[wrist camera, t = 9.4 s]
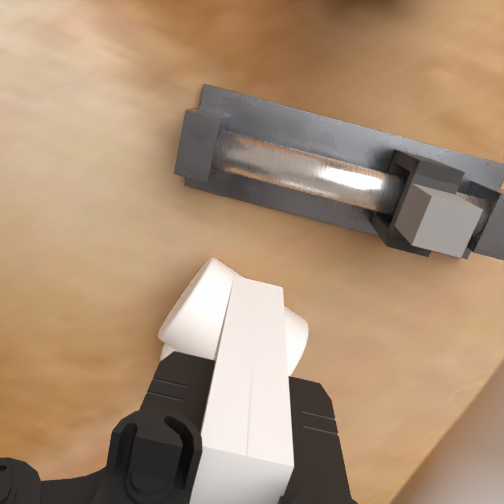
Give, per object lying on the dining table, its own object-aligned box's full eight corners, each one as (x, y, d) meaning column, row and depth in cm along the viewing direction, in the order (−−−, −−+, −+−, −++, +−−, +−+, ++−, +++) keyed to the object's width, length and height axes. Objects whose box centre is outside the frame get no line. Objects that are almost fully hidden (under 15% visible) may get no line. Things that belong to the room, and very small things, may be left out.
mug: (218, 243, 37) (201, 280, 29) (307, 305, 38) (313, 355, 31) (149, 336, 41) (120, 389, 33) (233, 389, 42) (222, 451, 35)
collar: (369, 222, 34) (402, 268, 25) (396, 149, 32) (442, 170, 23) (404, 231, 34) (450, 280, 25) (433, 159, 32) (495, 184, 23)
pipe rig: (186, 183, 35) (169, 198, 30) (205, 84, 32) (190, 81, 27) (463, 256, 36) (494, 283, 30) (505, 164, 33) (548, 177, 28)
